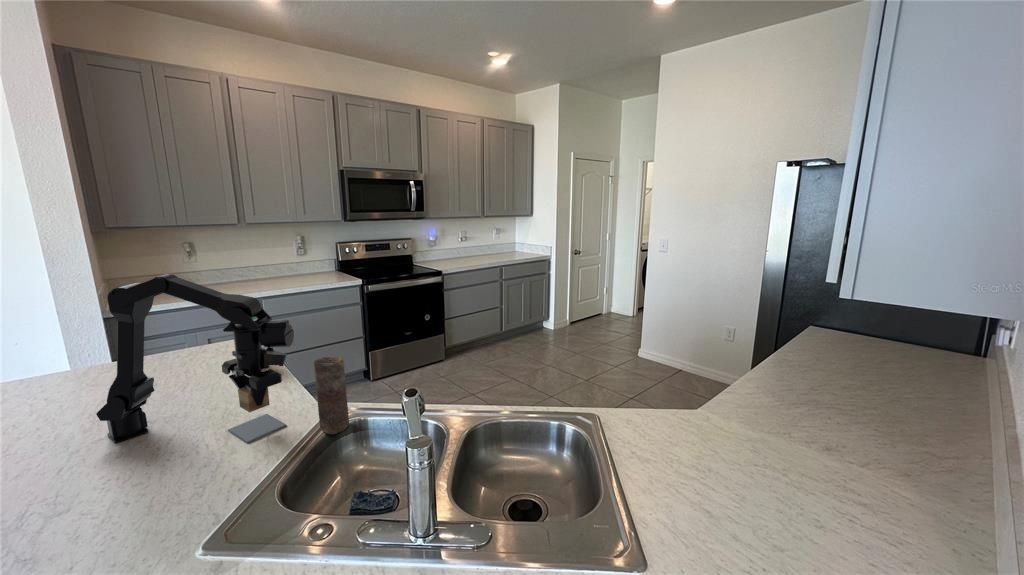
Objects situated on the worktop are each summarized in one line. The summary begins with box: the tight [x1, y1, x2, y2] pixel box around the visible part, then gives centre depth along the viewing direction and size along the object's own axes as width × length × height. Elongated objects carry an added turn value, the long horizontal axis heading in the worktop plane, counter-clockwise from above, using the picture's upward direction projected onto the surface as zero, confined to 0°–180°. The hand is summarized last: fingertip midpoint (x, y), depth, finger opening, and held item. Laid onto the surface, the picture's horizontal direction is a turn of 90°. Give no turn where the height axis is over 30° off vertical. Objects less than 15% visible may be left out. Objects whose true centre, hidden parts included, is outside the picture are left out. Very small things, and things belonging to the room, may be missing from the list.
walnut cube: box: [237, 387, 270, 413], centre depth 108 cm, size 5×5×5 cm
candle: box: [313, 356, 350, 435], centre depth 109 cm, size 8×7×20 cm
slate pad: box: [227, 413, 287, 445], centre depth 110 cm, size 10×10×1 cm
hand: (254, 402), depth 108 cm, fingers closed on walnut cube, 5 cm apart
